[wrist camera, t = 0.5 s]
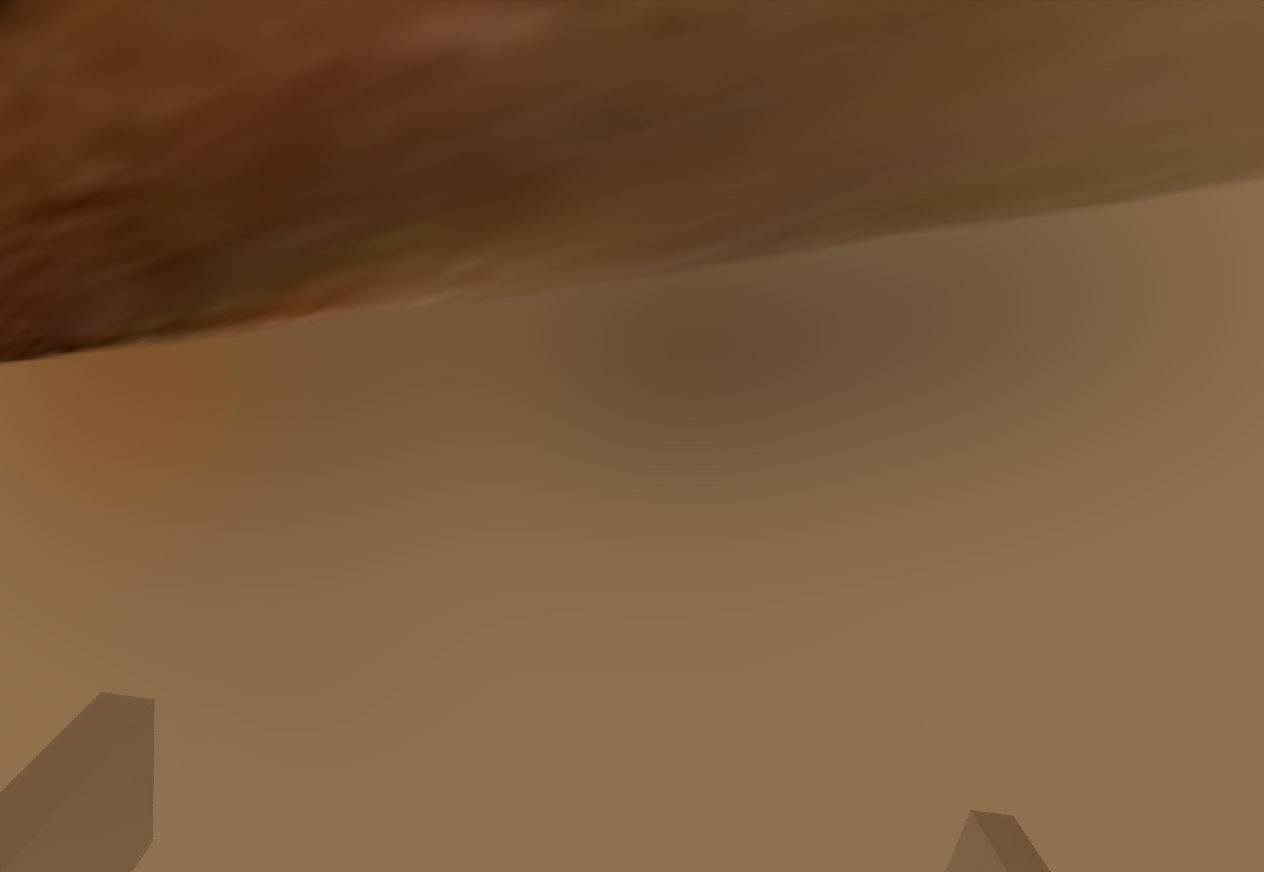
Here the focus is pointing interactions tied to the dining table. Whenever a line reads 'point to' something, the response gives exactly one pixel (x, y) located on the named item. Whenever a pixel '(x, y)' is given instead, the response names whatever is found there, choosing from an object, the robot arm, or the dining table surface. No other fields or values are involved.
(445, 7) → the dining table surface
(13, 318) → the dining table surface
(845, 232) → the dining table surface
